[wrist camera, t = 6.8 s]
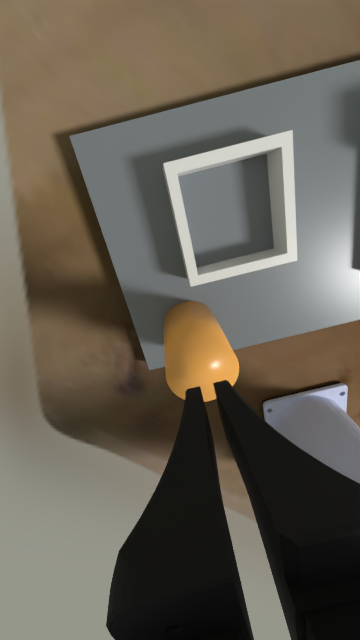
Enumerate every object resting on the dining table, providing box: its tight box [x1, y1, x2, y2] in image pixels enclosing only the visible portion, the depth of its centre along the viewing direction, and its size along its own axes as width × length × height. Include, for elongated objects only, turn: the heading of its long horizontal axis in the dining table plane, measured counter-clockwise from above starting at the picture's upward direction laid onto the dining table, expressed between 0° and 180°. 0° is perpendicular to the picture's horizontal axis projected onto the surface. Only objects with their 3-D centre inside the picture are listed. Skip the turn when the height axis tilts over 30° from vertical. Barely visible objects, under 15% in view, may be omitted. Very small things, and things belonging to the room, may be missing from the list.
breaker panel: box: [69, 60, 360, 370], centre depth 17 cm, size 16×24×3 cm, turn 103°
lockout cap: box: [163, 301, 239, 402], centre depth 17 cm, size 4×4×6 cm
